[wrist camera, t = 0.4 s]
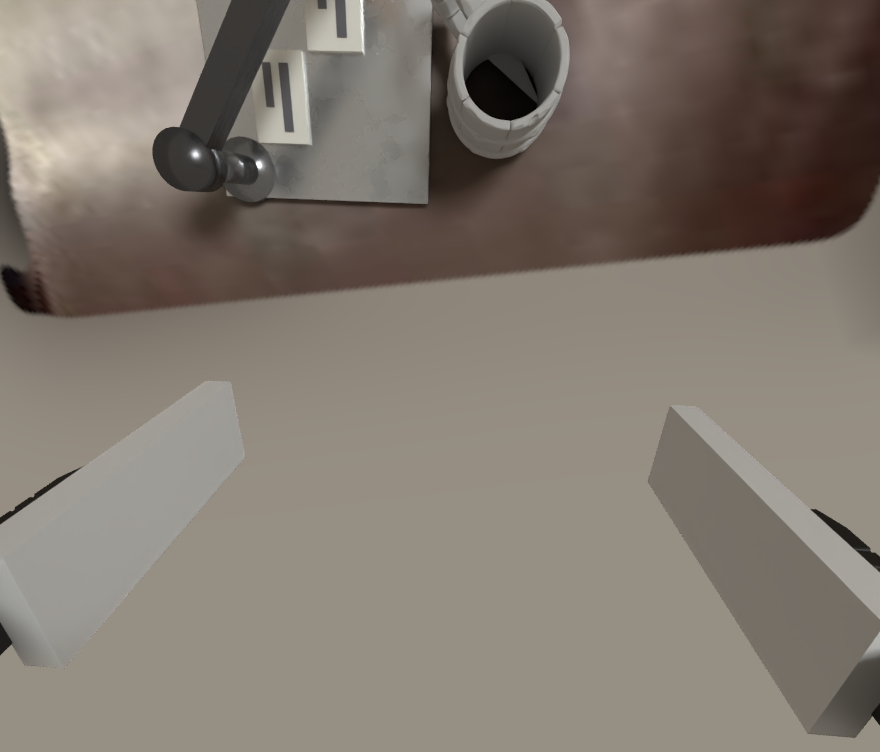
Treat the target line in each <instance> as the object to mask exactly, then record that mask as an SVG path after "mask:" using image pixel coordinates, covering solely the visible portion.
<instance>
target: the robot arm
mask: <svg viewBox="0 0 880 752" xmlns="http://www.w3.org/2000/svg"><path fill="white" fill-rule="evenodd" d="M244 458H245V453H244V447H243V442H242V437H241V432H240V427H239V422H238V417H237V412H236V407H235V402H234V397H233V392H232V387H231V382H220V381H205V382H204V383H202V384H201V385H199V386H198V387H197V388H195V389H194V390H192V391H191V392H189V393H188V394H187V395H185V396H184V397H182V398H181V399H179V400H178V401H177V402H175V403H174V404H172V405H171V406H169V407H168V408H167V409H165V410H164V411H163V412H161V413H159V414H158V415H157V416H155V417H154V418H153V419H151V420H149V421H148V422H146V423H145V424H144V425H142V426H141V427H140V428H138V429H137V430H135V431H134V432H132V433H131V434H129V435H128V436H126V437H125V438H124V439H122V440H121V441H119V442H118V443H116V444H115V445H114V446H112V447H111V448H109V449H108V450H106V451H105V452H104V453H102V454H101V455H99V456H98V457H96V458H95V459H94V460H92V461H91V462H89V463H88V464H86V465H85V466H83V467H81V468H79V469H76V470H74V471H72V472H70V473H68V474H66V475H63V476H62V477H59V478H57V479H56V480H54V481H53V482H52V483H50V484H49V485H47V486H46V487H44V488H43V489H41V490H40V491H38V492H37V493H35V496H34V497H30V498H28V499H27V500H25V501H24V502H22V503H21V504H19V505H18V506H16V507H15V510H14V511H9V512H8V513H6V514H5V515H3V516H2V517H0V655H1V654H2V653H3V652H4V651H5V650H6V649H7V648H8V647H9V646H10V645H11V644H12V646H13V647H14V649H15V651H16V652H17V654H18V656H19V657H20V659H21V660H22V662H23V664H24V665H27V666H39V667H50V668H61V669H64V668H65V667H66V666H67V665H68V664H69V663H70V661H71V660H72V659H73V658H74V657H75V656H76V654H77V653H78V652H79V651H80V650H81V649H82V647H83V646H84V645H85V644H86V643H87V641H88V640H89V639H90V638H91V637H92V636H93V635H94V633H95V632H96V631H97V630H98V629H99V627H100V626H101V625H102V624H103V623H104V621H106V619H107V618H108V617H109V616H110V615H111V614H112V612H113V611H114V610H115V609H116V608H117V607H118V605H119V604H120V603H121V602H122V601H123V600H124V598H125V597H126V596H127V595H128V594H129V593H130V591H131V590H132V589H133V588H134V587H135V586H136V584H137V583H138V582H139V581H140V580H141V579H142V577H143V576H144V575H145V574H146V572H148V570H149V569H150V568H151V567H152V566H153V564H154V563H155V562H156V561H157V560H158V559H159V557H160V556H161V555H162V554H163V553H164V552H165V550H166V549H167V548H168V547H169V546H170V545H171V544H172V542H173V541H174V540H175V539H176V538H177V537H178V535H179V534H180V533H181V532H182V531H183V530H184V528H185V527H186V526H187V525H188V524H189V523H190V521H191V520H192V519H193V518H194V517H195V516H196V514H197V513H198V512H199V511H200V510H201V509H202V507H203V506H204V505H205V504H206V503H207V502H208V500H209V499H210V498H211V497H212V496H213V495H214V493H215V492H216V491H217V490H218V489H219V487H220V486H221V485H222V484H223V483H224V482H225V481H226V479H227V478H228V477H229V476H230V475H231V474H232V472H233V471H234V470H235V469H236V468H237V466H238V465H239V464H240V463H241V462H242V461H243V460H244ZM648 483H649V485H650V486H651V488H652V489H653V491H654V493H655V494H656V496H657V497H658V499H659V500H660V502H661V504H662V505H663V507H664V508H665V510H666V512H667V513H668V515H669V516H670V518H671V519H672V521H673V523H674V524H675V526H676V527H677V529H678V530H679V532H680V534H681V535H682V537H683V538H684V540H685V541H686V543H687V544H688V546H689V548H690V549H691V551H692V552H693V554H694V556H695V557H696V559H697V560H698V562H699V563H700V565H701V566H702V568H703V570H704V571H705V573H706V574H707V576H708V578H709V579H710V581H711V582H712V584H713V585H714V587H715V589H716V590H717V592H718V593H719V595H720V596H721V598H722V600H723V601H724V603H725V604H726V606H727V607H728V609H729V611H730V612H731V614H732V615H733V617H734V618H735V620H736V621H737V623H738V625H739V626H740V628H741V629H742V631H743V633H744V634H745V636H746V637H747V639H748V640H749V642H750V643H751V645H752V647H753V648H754V650H755V652H756V653H757V655H758V656H759V658H760V659H761V661H762V663H763V664H764V666H765V667H766V669H767V670H768V672H769V674H770V675H771V677H772V678H773V680H774V681H775V683H776V685H777V686H778V688H779V689H780V691H781V692H782V694H783V695H784V697H785V699H786V700H787V702H788V703H789V705H790V707H791V708H792V710H793V711H794V713H795V714H796V716H797V717H798V719H799V721H800V722H801V724H802V725H803V727H804V728H805V730H806V732H807V733H808V734H817V735H829V736H841V737H851V738H855V737H856V736H857V735H858V734H859V732H860V731H861V729H863V727H864V726H865V725H866V724H867V722H868V721H869V720H870V719H871V717H872V716H873V717H874V718H875V720H876V721H877V722H878V724H879V725H880V556H878V555H877V554H876V553H872V552H871V551H870V548H869V547H868V546H867V545H866V544H865V543H864V542H862V541H861V540H860V539H859V538H858V537H856V536H855V535H854V534H853V533H852V532H851V531H850V530H848V529H847V528H846V527H844V526H843V525H841V524H840V523H838V522H836V521H835V520H833V519H831V518H830V517H828V516H826V515H825V514H823V513H821V512H820V511H818V510H816V509H809V508H808V507H807V506H806V505H805V504H804V503H803V502H801V501H800V500H799V499H798V498H797V497H796V496H795V495H794V494H793V493H792V492H790V491H789V490H788V489H787V488H786V487H785V486H784V485H783V484H782V483H780V482H779V481H778V480H777V479H776V478H775V477H774V476H773V475H772V474H771V473H769V472H768V471H767V470H766V469H765V468H764V467H763V466H762V465H760V463H758V462H757V461H756V460H755V459H754V458H753V457H752V456H751V455H749V453H747V452H746V451H745V450H744V449H743V448H742V447H741V446H739V444H737V443H736V442H735V441H734V440H733V439H732V438H731V437H730V436H729V435H728V434H727V433H725V432H724V431H723V430H722V429H721V428H720V427H719V426H718V425H717V424H715V423H714V422H713V421H712V420H711V419H710V418H709V417H708V416H707V415H705V414H704V413H703V412H702V411H701V410H700V409H699V408H698V407H694V406H676V405H670V407H669V410H668V413H667V417H666V420H665V424H664V427H663V431H662V434H661V438H660V441H659V445H658V448H657V451H656V455H655V458H654V462H653V465H652V469H651V472H650V475H649V479H648Z"/></svg>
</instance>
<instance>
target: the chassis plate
mask: <svg viewBox="0 0 880 752" xmlns="http://www.w3.org/2000/svg"><path fill="white" fill-rule="evenodd" d="M230 2H231V0H197V6H198V12H199V19H200V25H201V32H202V38H203V45H204V51H205V58H206V61H207V59H208V56H209V54H210V51H211V49H212V46H213V44H214V42H215V39H216V37H217V34H218V32H219V29H220V27H221V24H222V22H223V19H224V17H225V15H226V12H227V10H228V7H229V5H230ZM362 30H363V53H322V52H309V51H308V48H307V34H306V21H305V7H304V0H290V2H289V4H288V7H287V9H286V11H285V13H284V15H283V17H282V20H281V22H280V24H279V26H278V28H277V31H276V33H275V35H274V37H273V39H272V42H271V44H270V46H269V48H268V49H274V50H301V51H302V52H303V58H304V71H305V84H306V97H307V110H308V123H309V136H310V145H301V144H271V143H259V141H258V132H257V124H256V116H255V108H254V99H253V91H252V85H251V88H250V90H249V92H248V94H247V96H246V99H245V101H244V103H243V105H242V107H241V109H240V112H239V114H238V116H237V118H236V120H235V123H234V125H233V127H232V129H231V131H230V134H229V136H228V138H227V140H229V139H230V138H233V137H239V136H241V137H247V138H250V139H253V140H255V141H257V142H258V143H259V144H261V145H262V146H263V147H264V148H265V149H266V151H267V152H268V153H269V155H270V157H271V159H272V161H273V164H274V168H275V183H274V186H273V189H272V191H271V192H270V194H269V195H268V196H267V197H266V198H288V199H314V200H339V201H365V202H390V203H416V204H429V164H430V121H431V78H432V35H433V6H432V3H431V0H362ZM227 140H226V141H227ZM226 193H227V196H232V195H231V194H230V193H229V192H228V191H227V190H226Z"/></svg>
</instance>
